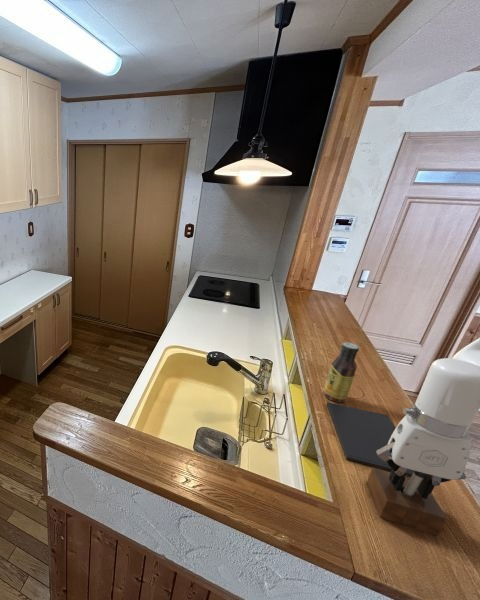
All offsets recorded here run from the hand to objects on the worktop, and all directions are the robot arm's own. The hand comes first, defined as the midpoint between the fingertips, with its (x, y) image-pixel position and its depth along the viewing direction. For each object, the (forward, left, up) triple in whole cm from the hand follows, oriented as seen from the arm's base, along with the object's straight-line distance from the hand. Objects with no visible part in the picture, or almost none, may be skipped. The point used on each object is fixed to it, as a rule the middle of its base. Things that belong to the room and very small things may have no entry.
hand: (407, 488), depth 69 cm
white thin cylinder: (0, 0, -6) cm, 6 cm away
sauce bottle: (+4, -40, -6) cm, 41 cm away
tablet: (-1, -23, -6) cm, 24 cm away
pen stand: (0, 0, -6) cm, 6 cm away
